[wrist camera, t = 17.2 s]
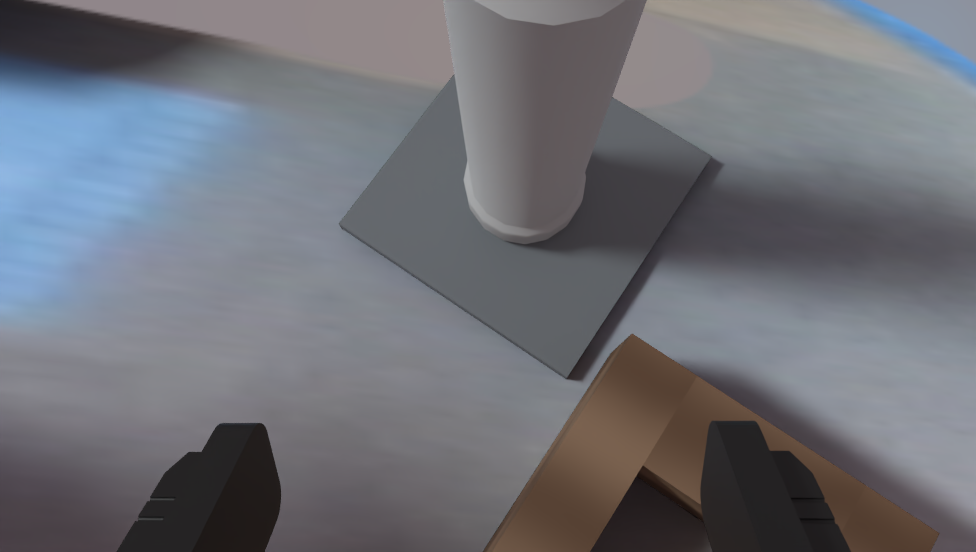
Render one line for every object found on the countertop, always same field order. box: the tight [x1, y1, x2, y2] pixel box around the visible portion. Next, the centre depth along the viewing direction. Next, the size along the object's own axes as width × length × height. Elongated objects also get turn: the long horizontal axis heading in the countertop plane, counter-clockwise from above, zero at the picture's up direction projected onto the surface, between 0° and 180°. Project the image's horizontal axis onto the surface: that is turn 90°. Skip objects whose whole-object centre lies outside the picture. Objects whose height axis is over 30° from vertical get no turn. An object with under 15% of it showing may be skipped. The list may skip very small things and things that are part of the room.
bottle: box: [443, 0, 647, 244], centre depth 19 cm, size 5×5×25 cm
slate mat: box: [339, 75, 712, 379], centre depth 32 cm, size 12×12×1 cm
